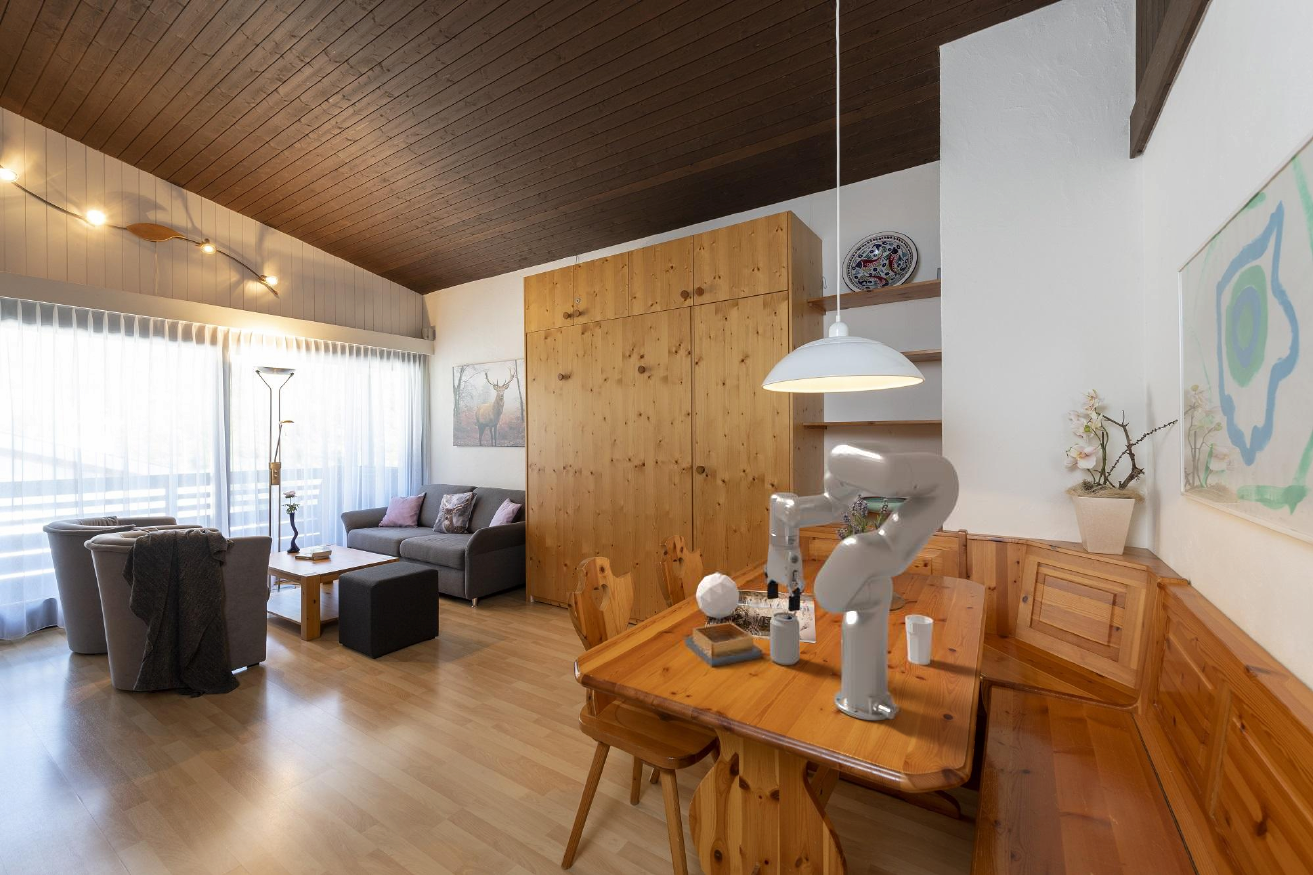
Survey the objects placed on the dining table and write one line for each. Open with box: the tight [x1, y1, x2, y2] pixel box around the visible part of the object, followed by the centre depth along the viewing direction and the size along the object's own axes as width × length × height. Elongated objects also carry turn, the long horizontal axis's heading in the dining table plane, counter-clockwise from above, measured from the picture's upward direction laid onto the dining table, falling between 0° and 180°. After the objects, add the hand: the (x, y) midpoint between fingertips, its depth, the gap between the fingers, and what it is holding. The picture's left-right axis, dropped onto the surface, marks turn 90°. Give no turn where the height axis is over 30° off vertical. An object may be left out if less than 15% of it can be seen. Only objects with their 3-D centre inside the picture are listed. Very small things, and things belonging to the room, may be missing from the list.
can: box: [769, 611, 800, 666], centre depth 149 cm, size 8×8×12 cm
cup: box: [904, 614, 934, 666], centre depth 148 cm, size 7×7×11 cm
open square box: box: [684, 622, 763, 668], centre depth 156 cm, size 16×15×5 cm
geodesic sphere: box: [695, 571, 740, 620], centre depth 184 cm, size 15×14×14 cm
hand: (783, 604), depth 149 cm, fingers open, 9 cm apart
